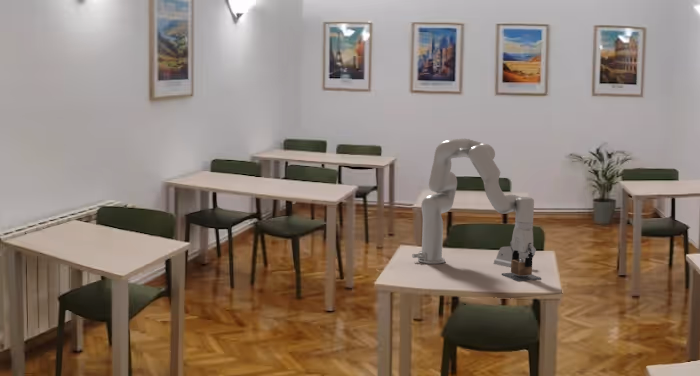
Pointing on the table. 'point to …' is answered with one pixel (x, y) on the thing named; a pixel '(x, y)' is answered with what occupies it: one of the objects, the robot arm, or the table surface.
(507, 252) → the hinge
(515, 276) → the post
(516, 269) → the collar
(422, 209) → the robot arm
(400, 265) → the table surface
